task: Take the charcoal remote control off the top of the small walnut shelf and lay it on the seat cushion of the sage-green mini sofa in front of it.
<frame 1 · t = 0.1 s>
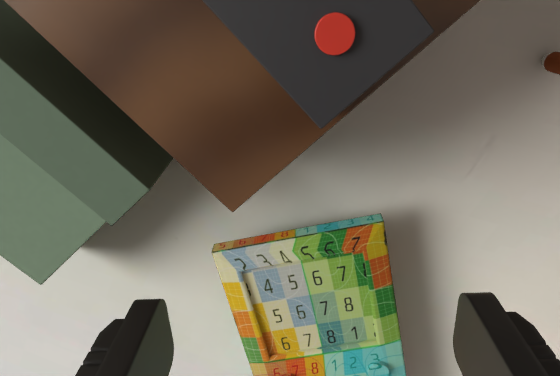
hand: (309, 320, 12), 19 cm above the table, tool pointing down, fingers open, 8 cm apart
puzzle game: (319, 313, 36), on the table
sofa: (51, 124, 30), on the table
magnifying glass: (543, 59, 28), on the table
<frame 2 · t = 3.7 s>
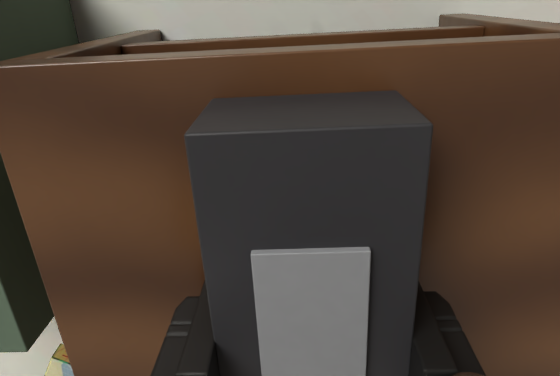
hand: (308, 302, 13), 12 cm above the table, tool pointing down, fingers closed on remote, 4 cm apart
shelf: (301, 157, 24), on the table
remote: (309, 295, 13), point 12 cm above the table, touching gripper, shelf
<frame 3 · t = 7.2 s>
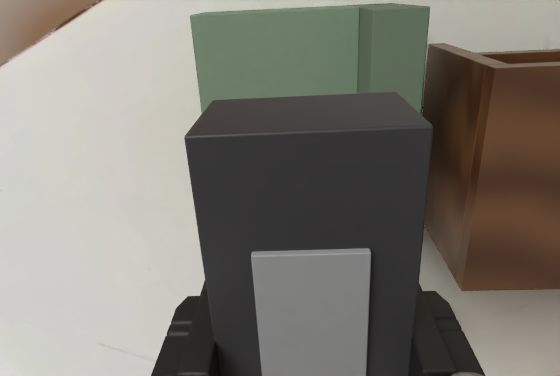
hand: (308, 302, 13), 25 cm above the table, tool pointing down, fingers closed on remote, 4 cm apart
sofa: (299, 100, 35), on the table
shelf: (519, 128, 35), on the table
remote: (309, 296, 13), point 25 cm above the table, touching gripper
when the fingers open (5 cm above the table, at t = 11.2 s): remote stays where it is, resting on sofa.
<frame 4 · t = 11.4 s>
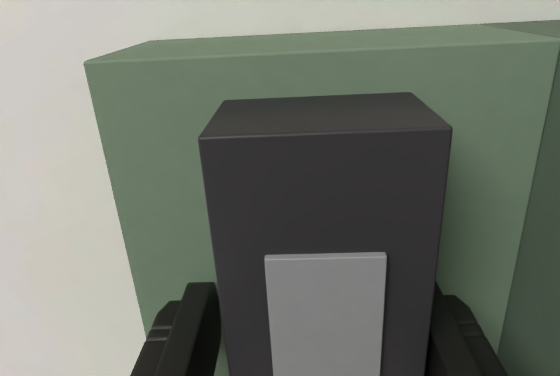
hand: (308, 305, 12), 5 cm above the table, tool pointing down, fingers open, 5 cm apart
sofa: (351, 216, 17), on the table
remote: (319, 298, 13), point 5 cm above the table, touching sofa
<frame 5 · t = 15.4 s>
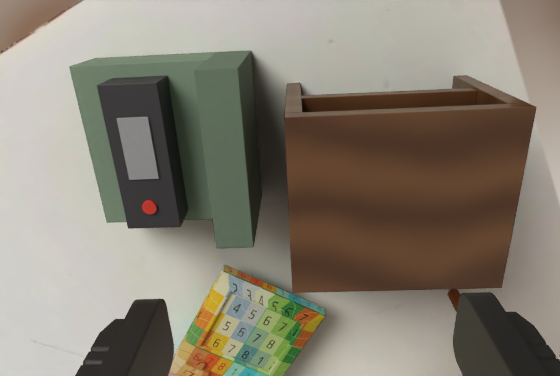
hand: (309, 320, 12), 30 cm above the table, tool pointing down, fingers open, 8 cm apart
puzzle game: (238, 332, 51), on the table
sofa: (183, 130, 41), on the table
shelf: (373, 153, 41), on the table
remote: (152, 148, 37), point 5 cm above the table, touching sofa
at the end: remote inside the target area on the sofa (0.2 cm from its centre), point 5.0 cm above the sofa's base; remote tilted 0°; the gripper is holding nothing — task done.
